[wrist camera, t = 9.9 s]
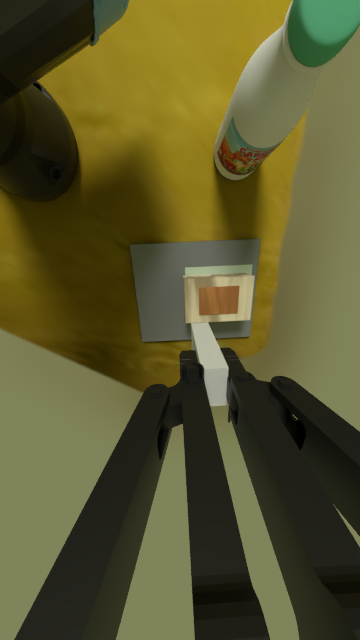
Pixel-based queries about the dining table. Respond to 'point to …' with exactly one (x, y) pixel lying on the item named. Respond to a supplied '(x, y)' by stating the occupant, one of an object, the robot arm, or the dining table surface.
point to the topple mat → (167, 283)
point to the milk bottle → (281, 82)
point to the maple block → (217, 297)
